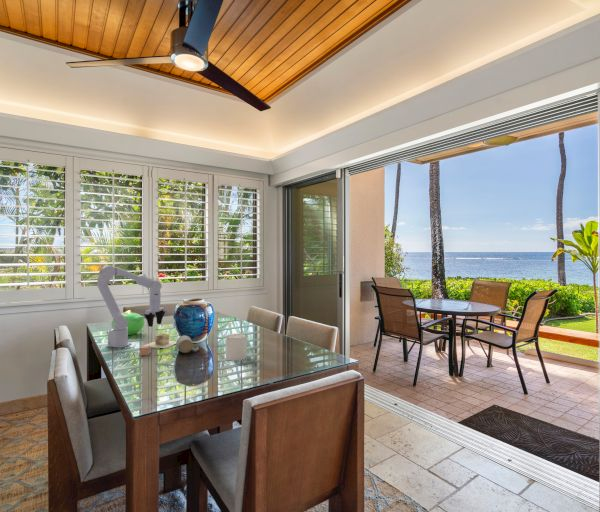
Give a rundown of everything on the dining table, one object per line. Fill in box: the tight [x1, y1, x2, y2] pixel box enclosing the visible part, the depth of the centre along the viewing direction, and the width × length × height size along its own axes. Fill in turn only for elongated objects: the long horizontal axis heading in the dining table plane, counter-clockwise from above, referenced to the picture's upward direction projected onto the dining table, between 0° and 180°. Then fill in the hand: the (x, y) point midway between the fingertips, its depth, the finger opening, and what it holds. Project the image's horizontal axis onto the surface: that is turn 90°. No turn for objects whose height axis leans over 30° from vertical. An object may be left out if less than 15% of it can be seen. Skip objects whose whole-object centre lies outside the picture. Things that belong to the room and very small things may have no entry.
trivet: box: [142, 340, 177, 350], centre depth 200 cm, size 14×14×1 cm
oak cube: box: [154, 333, 170, 345], centre depth 199 cm, size 5×5×5 cm
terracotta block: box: [139, 345, 152, 357], centre depth 180 cm, size 4×4×4 cm
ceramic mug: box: [175, 335, 199, 354], centre depth 187 cm, size 11×8×8 cm
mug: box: [225, 333, 248, 362], centre depth 178 cm, size 14×10×11 cm
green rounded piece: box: [111, 309, 146, 336], centre depth 222 cm, size 18×17×15 cm
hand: (154, 325), depth 206 cm, fingers open, 7 cm apart
